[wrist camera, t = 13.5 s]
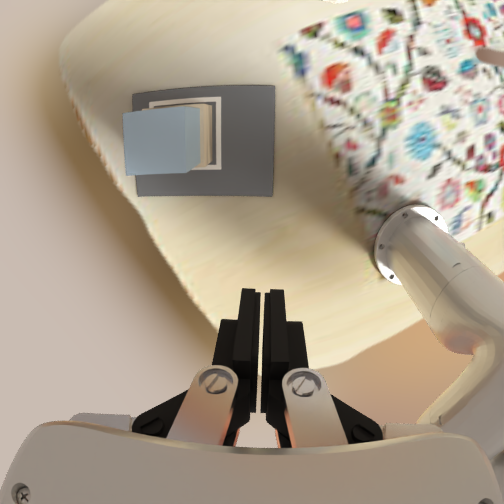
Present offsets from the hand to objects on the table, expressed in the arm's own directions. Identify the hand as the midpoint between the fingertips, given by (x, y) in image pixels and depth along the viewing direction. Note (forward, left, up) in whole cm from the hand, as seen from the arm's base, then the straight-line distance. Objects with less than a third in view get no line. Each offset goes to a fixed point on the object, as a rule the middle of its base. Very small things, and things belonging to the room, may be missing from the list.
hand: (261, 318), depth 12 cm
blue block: (+10, -6, -22) cm, 25 cm away
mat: (+8, -5, -27) cm, 29 cm away
